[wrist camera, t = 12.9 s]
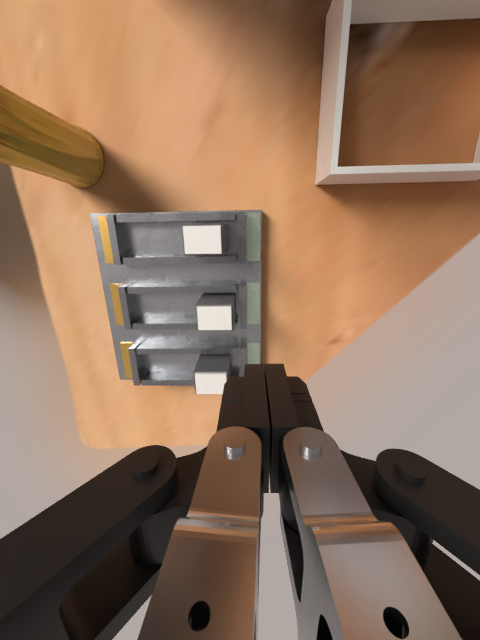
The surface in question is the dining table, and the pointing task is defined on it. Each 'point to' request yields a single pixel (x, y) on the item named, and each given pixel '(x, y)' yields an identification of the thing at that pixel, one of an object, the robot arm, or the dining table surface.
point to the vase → (46, 143)
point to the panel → (177, 292)
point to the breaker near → (205, 239)
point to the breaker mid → (216, 312)
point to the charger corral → (346, 8)
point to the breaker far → (212, 373)
